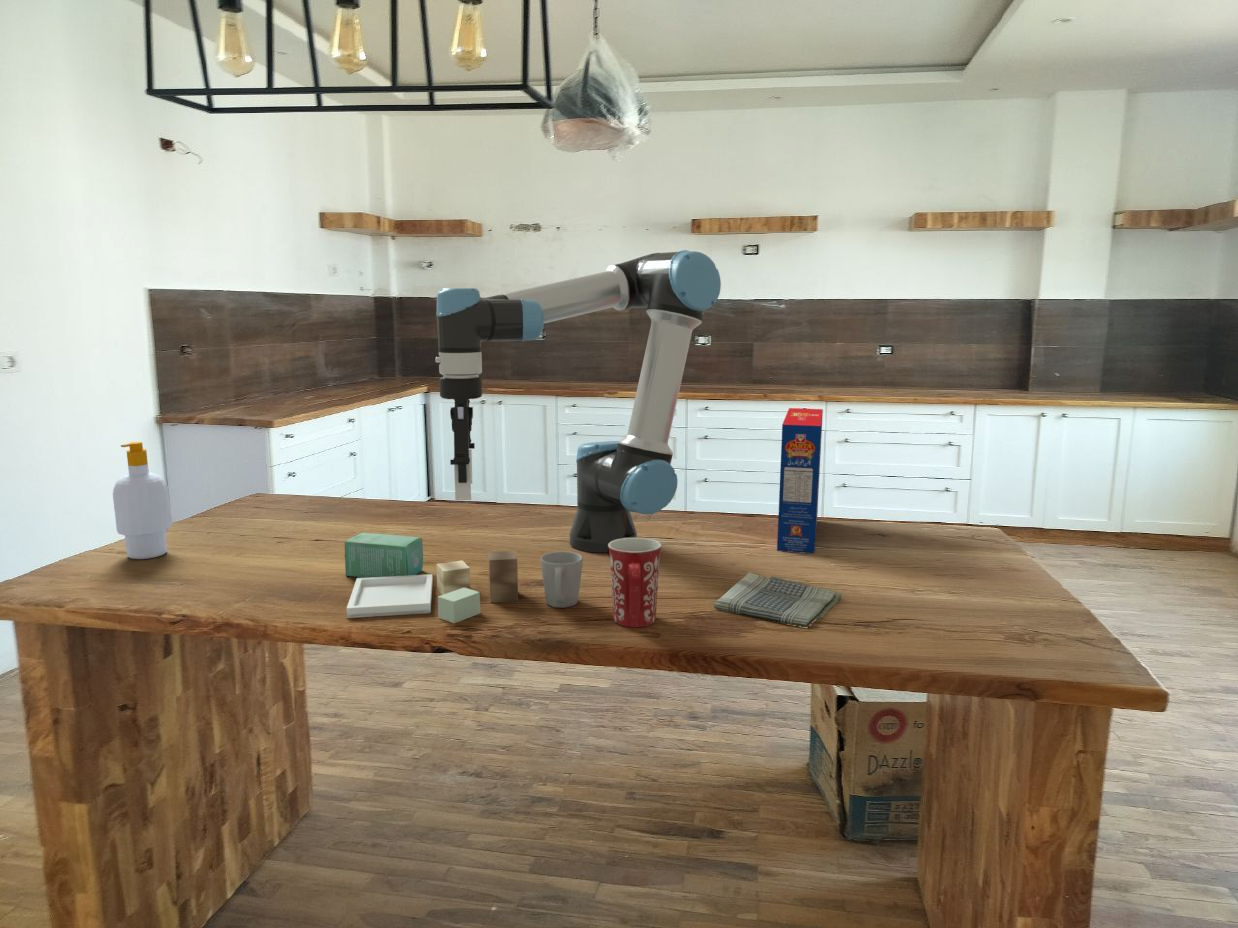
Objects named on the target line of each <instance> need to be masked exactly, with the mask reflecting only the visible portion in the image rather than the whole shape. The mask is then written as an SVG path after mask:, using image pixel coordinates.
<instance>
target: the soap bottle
mask: <svg viewBox="0 0 1238 928" xmlns="http://www.w3.org/2000/svg"><path fill="white" fill-rule="evenodd" d="M120 447H121V448H128V447H129V449H128V450H126V458H127V469H128V474H125V475H123V476H122V477H120V478H118V479H117V481H115V483H114V486H113V489H112V500H113V509H114V510H113V511H114V517H115V526H116V527H115V529H116V532H117V534H118V535H121V536H124V539H125V550H126V551H125V552H126V555H127V557H128V558H130V559H132V560H147V559H153V558H154V559H155V558H157V557H160V556H163V555H165V553H167V552H168V544H167V533H166V532H167V531H168V530H169V529H171V528H172V527H173V525H172V524H173V521H172V512H171V504H170V492H169V487H168V485H167V483H166V482H165V480H164V479H163V477H161V475H159V474H157V473H154V472H150V471H149V463H148V455H147V454H148V453H147V449H145V448H144V447H143V442H142V441H134V442H133V441H132V442H129V443H125V444H120Z"/></svg>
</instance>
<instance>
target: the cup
mask: <svg viewBox="0 0 1238 928" xmlns="http://www.w3.org/2000/svg"><path fill="white" fill-rule="evenodd" d="M583 559H584V557H583V556H582V555H581V554H580V553H578V552H573V551H552V552H548V553H544V554H543V555H541V557H540V565H541V575H542V576H541V577H542V582H543V589H544V594H545V595H544V596H545V601H546V604H547V605H548V606H550V607H553V608H561V609H563V608H564V609H565V608H566V609H567V608H572V607H573V606H575V605H577V603H578V601H579V595H580V590H581V589H580V586H581V581H582V572H583Z"/></svg>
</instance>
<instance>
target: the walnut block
mask: <svg viewBox="0 0 1238 928" xmlns="http://www.w3.org/2000/svg"><path fill="white" fill-rule="evenodd" d="M487 557H488V559H487V560H488V561H487V562H488V563H487V564H488V593H489V595H488V596H489V603H490V604H492V603H505V602H506V603H507V602H518V601H519V579H518V578H519V575H518V572H519V571H518V556H517V552H516V550H508V551H506V550H505V551H504V550H503V551H488V552H487Z"/></svg>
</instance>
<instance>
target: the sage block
mask: <svg viewBox="0 0 1238 928" xmlns="http://www.w3.org/2000/svg"><path fill="white" fill-rule="evenodd" d="M480 593H481V592H480V591H478V590H474V589H471V588H470V589H468V588H461V589H458V590H455V591H452V592H450V593H447V594H444V595H442V594H441V595H438V596H437V611H438V612H437V613H438V619H440V620H444V621H447V622H449V623H452V624H456V623H458V622H461V621H464V620H467V619H469V618H472V617H474V616H476V615H479V614H481V594H480Z"/></svg>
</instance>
